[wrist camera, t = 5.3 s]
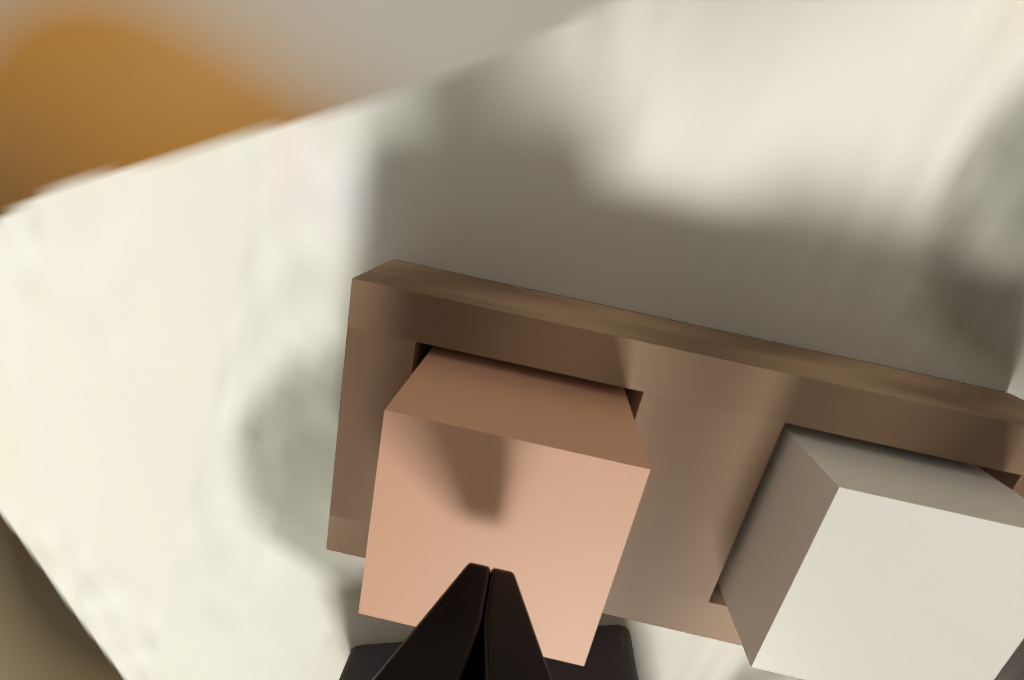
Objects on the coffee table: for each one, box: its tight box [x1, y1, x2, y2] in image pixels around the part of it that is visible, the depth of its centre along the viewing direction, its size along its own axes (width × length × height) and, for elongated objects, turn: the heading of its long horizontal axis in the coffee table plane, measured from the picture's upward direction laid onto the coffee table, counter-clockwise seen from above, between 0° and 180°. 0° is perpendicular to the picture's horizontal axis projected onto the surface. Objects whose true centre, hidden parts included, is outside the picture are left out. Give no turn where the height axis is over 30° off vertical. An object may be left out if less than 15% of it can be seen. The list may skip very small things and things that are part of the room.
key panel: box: [326, 260, 1024, 646], centre depth 14 cm, size 18×8×3 cm, turn 79°
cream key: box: [717, 423, 1024, 680], centre depth 12 cm, size 5×5×4 cm
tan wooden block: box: [358, 346, 651, 666], centre depth 12 cm, size 5×5×4 cm
